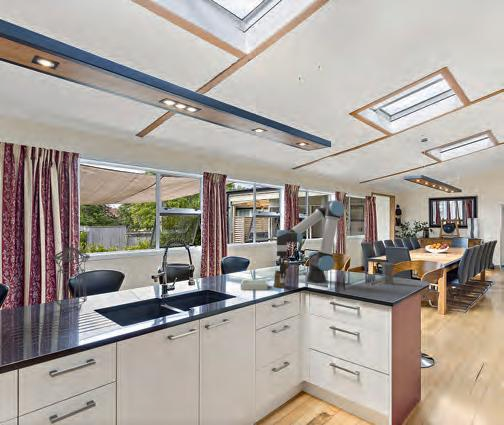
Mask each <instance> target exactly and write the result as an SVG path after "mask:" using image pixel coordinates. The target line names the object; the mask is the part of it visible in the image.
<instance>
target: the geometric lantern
mask: <svg viewBox="0 0 504 425" xmlns="http://www.w3.org/2000/svg"><path fill="white" fill-rule="evenodd" d="M69 253H70V254H69ZM68 254H69V255H68ZM78 256H80V257H78ZM50 258H51V259H52V258H53V260H54V261H55V264H56V265H58V268H59V269H58V270H56V272H57V274H56V288H55V301H54V302H55V303H56V304H57V305H58V306H59V310H60V309H62V310H63V308H66V309H65V311H69V312H72V311H71V310H72V308H74V309H73V311H77V310H76V309H77V308H78V307H79V308H78V310H81V309H82V305H83V304H84V303H85V302H87V286H86V285H87V282H86V262H87V261H88V260H89V259H90V258H91V255H90V254H89V255H88V254H87V253H85V252H83V251H82V250H80V249H78V248H76V247H74V246H69V247H67V248H65V249H63V250H62V251H61V250H60V251H59V252H58V253H56V254H55V255H53V256H51V257H50ZM79 260H80V261H79ZM74 261H77V262H75V263H74ZM61 262H62V263H61ZM65 263H70V264H71V265H70V267H68V268H67V269H62V267H63V266H64V264H65ZM82 263H83V264H84V265H83V267H84V269H82V266H81V265H82ZM60 264H61V265H60ZM76 265H78V267H77V266H76ZM72 266H74V267H75V268H72ZM70 270H74V271H73V273H74V294H73V297H70V298H69V297H68V274H71V273H72V271H70ZM65 271H66V272H65ZM68 271H69V272H68ZM80 272H81V278H82V292H83V293H82V295H83V297H81V283H80V282H81V281H80V280H81V279H80ZM61 274H62V276H61ZM77 274H78V275H77ZM77 276H78V296H76V293H77V292H76V291H77ZM61 277H62V284H61ZM64 282H65V291H66V292H65V295H66V296H65V298H63V297H64V296H63V295H64ZM61 285H62V286H61ZM60 286H61V287H60ZM60 288H61V298H60ZM72 299H73V302H71V303H69V302H68V300H72ZM75 299H76V301H75ZM80 299H81V300H82V301H79V300H80ZM63 301H66V302H65V303H63ZM69 305H72V306H73V307H72V306H69ZM70 308H71V310H70ZM75 308H76V309H75Z"/></svg>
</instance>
